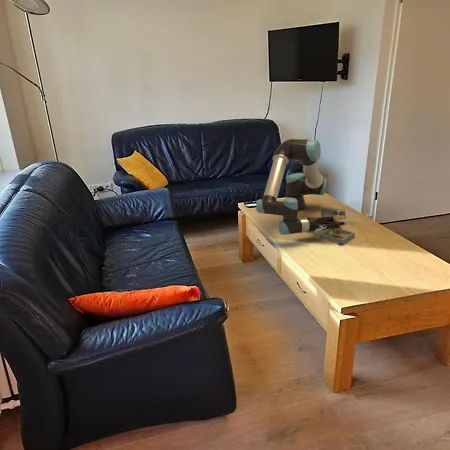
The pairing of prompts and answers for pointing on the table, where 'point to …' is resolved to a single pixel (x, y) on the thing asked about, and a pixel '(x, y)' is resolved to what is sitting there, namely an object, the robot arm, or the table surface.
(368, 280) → the table surface
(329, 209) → the digital clock
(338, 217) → the cell
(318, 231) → the checker pad
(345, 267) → the table surface
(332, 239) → the tray
